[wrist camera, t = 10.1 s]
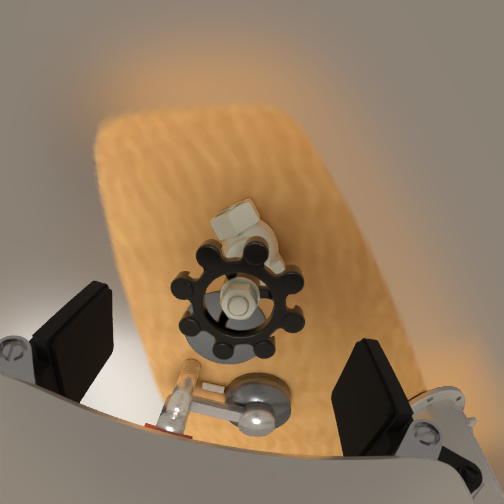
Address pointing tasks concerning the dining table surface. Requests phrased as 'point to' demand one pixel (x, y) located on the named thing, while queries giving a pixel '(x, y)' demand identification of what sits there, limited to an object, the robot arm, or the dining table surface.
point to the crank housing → (233, 392)
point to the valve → (241, 283)
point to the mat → (206, 341)
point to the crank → (248, 417)
